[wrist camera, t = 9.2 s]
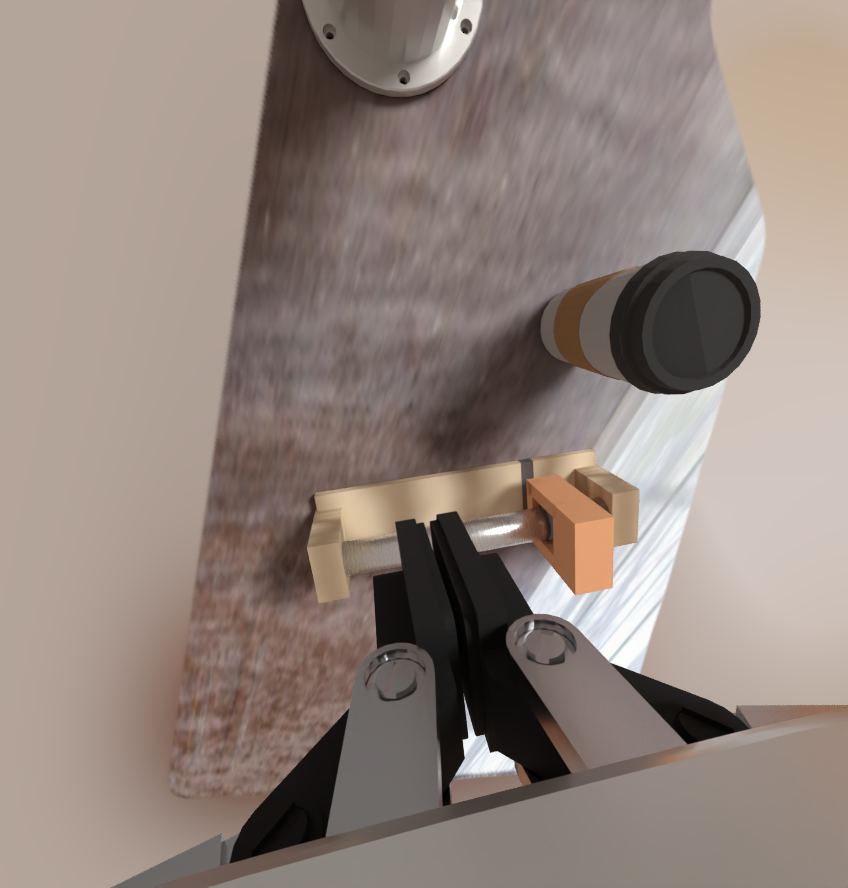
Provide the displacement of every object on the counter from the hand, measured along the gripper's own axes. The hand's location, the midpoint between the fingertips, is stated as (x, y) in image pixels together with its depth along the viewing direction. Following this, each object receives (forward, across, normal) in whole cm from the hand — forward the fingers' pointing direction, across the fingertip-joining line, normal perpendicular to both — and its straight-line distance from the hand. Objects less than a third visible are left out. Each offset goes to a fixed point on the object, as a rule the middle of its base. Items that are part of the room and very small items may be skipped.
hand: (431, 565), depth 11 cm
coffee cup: (+27, -18, -4) cm, 33 cm away
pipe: (+23, -6, +12) cm, 27 cm away
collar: (+24, -13, +12) cm, 30 cm away
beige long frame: (+27, -6, +12) cm, 30 cm away
